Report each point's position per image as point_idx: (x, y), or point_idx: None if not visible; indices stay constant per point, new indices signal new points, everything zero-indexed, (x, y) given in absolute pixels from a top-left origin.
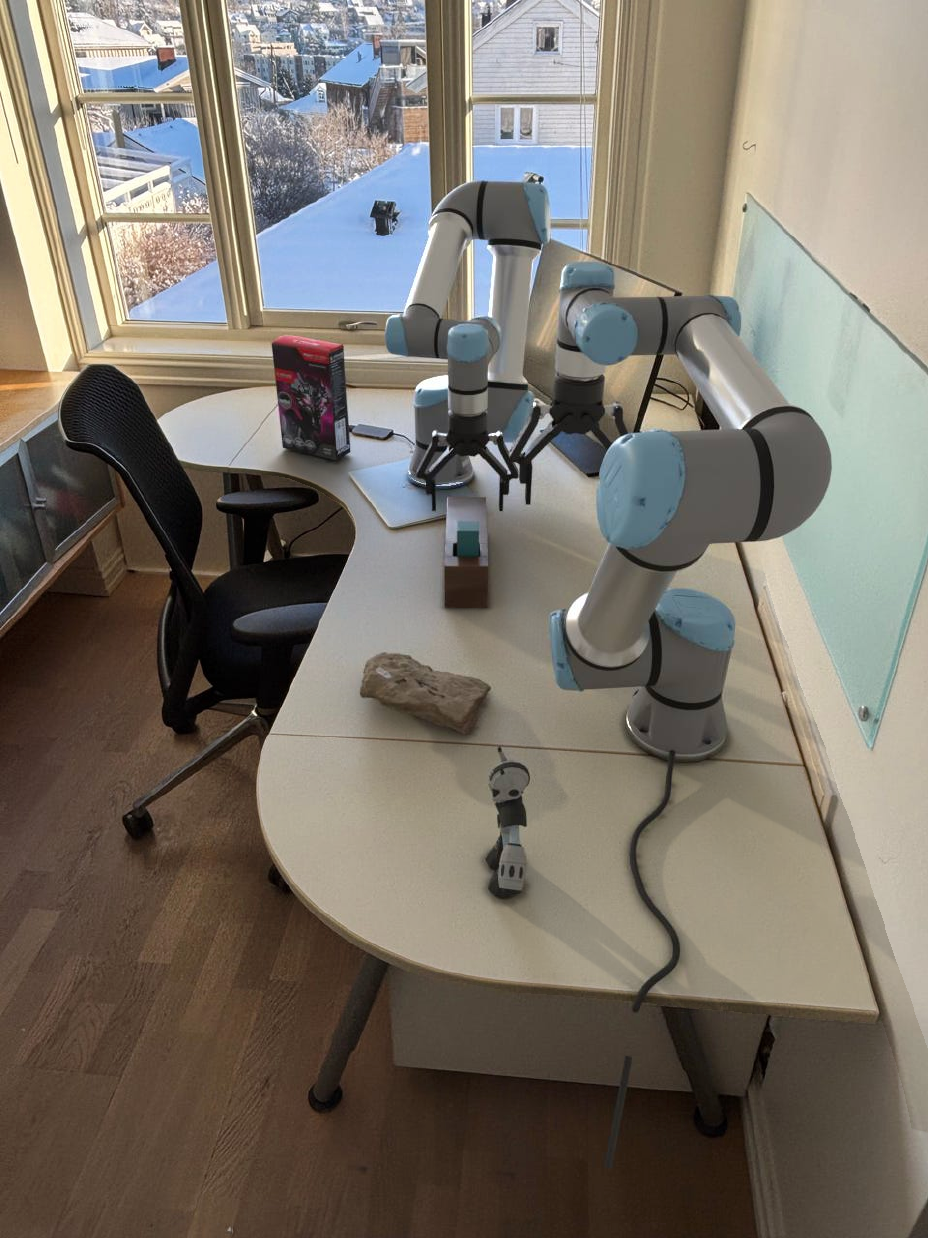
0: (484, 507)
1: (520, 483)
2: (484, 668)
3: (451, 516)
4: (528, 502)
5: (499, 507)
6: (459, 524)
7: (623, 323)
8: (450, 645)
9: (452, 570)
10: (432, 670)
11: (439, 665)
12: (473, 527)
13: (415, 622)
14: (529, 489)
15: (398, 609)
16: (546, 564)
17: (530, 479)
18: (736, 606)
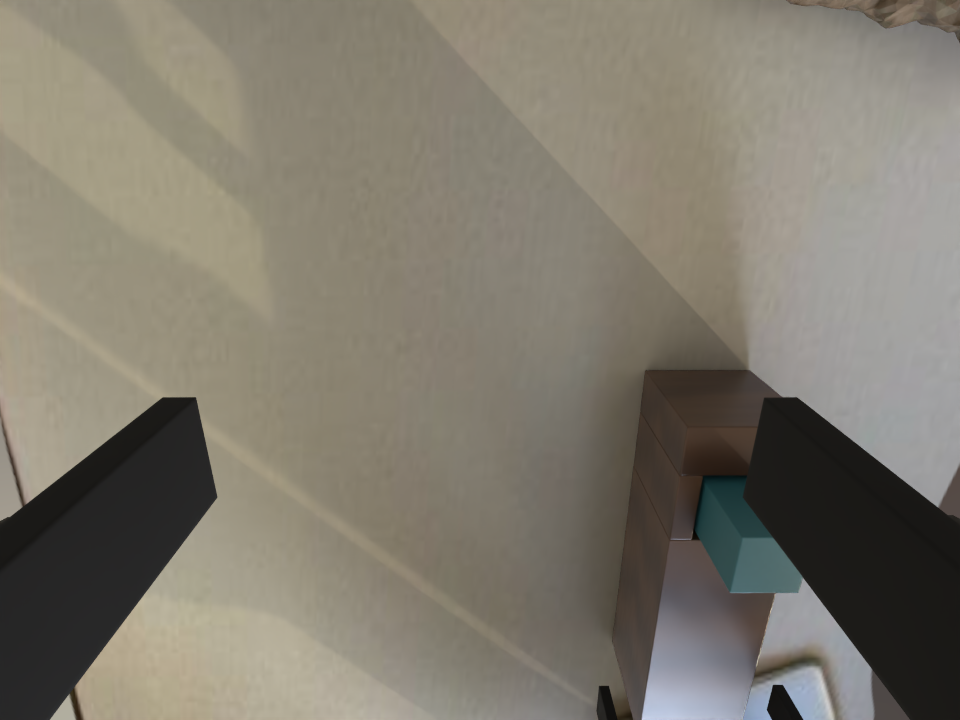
0: (649, 696)
1: (953, 517)
2: (690, 98)
3: (745, 657)
4: (788, 403)
5: (610, 696)
6: (797, 572)
7: None
8: (762, 206)
9: None
10: (875, 5)
11: (808, 111)
12: (756, 556)
13: (833, 306)
14: (851, 462)
15: (864, 361)
16: (485, 541)
17: (922, 525)
18: (37, 386)
